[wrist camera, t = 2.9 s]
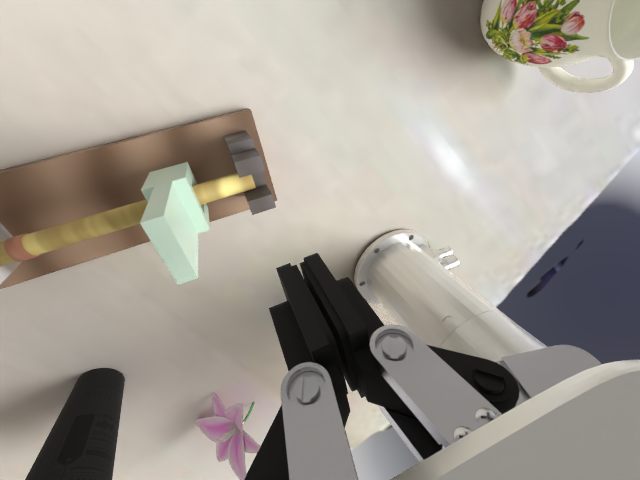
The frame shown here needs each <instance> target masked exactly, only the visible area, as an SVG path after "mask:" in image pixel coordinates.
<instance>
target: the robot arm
mask: <svg viewBox="0 0 640 480" xmlns="http://www.w3.org/2000/svg"><path fill="white" fill-rule="evenodd" d="M450 255H452V250H451V248H450V247H448V246H447V247H445V248H442V249H440V250H439V251H433V250H431V249H430V246H429V244H428V242H427V240H426V239H425V238H424V237H423V236H421V235H420V234H419V233H417V232H415V231H412V230H404V229H401V230H396V231H392V232H389V233H387V234H385V235H383V236H381V237H380V238H378V239H377V240H376V241H374V242H373V243H372V244H371V245H370V246H369V247H368V248H367V249H366V250H365V251H364V253H363V254H362V256H361V257H360V259H359V261H358V263H357V266H356V269H355V275H354V281H355V285H354V284H353V283H352V281H351V280H350V279H349V278H348V277H346V278H343V279H341V280H338V281H336V280H335V278H334V277H333V275H332V274H331V272H330V271H329V269H328V268H327V266H326V265H325V263H324V262H323V261H322V259H321V258H320V256H319V255H318V253H316V254H313V255H310V256H308V257H305V258H304V262H302V263H300V266H301V269H302V273H303V277H304V278H303V277H302V275H301V273H300V271H299V269H298V267H297V265H294V266H292V267H291V265H290V263H289V264H286V265H284V266H281V267H278V268H276V269H277V272H278V275H279V278H280V281H281V284H282V287H283V290H284V293H285V295H286V298H287V301H286V302H284V303H281V304H279V305H276V306H274V307H271V308H269V309H270V313H271V316H272V319H273V322H274V326H275V329H276V332H277V335H278V338H279V342H280V345H281V348H282V351H283V354H284V358H285V361H286V364H287V367H288V370H289V372H288V373H287V375H286V376H285V377H284V379H283V382H282V385H281V401H282V405H281V407H280V409H279V411H278V413H277V415H276V417H275V419H274V421H273V423H272V425H271V427H270V429H269V431H268V433H267V435H266V437H265V439H264V441H263V443H262V445H261V447H260V449H259V451H258V453H257V455H256V457H255V459H254V461H253V463H252V465H251V467H250V469H249V471H248V473H247V475H246V477H245V479H244V480H358V477H357V473H356V469H355V465H354V461H353V458H352V454H351V450H350V446H349V443H348V439H347V435H346V431H345V425H346V422H347V419H348V416H349V413H350V407H349V403H348V399H347V395H346V394H348V391H347V387H346V382H345V379H346V381H347V383H348V385H349V387H350V389H351V390H352V392H353V391H355V390H358V392H359V394H360V396H361V398H363V397H364V396H365V397H366V399H367V401H368V402H371V403H374V404H377V405H378V406H379V408H380V410H381V411H382V413H383V414H384V415H385V417H386V418H387V419H388V421H389V422H390V423H391V425H392V426H393V428H394V429H395V430H396V432H397V433H398V434H399V436H400V437H401V438H402V440H403V441H404V442H405V444H406V445H407V446H408V448H409V449H410V450H411V452H412V453H413V454H414V456H415V457H416V459H417V460H418V461H419V463H418V464H416V465H415V466H413V467H411V468H410V469H408V470H406V471H404V472H403V473H401V474H399V475H397V476H396V477H394V478H392V479H391V480H640V360H626V361H616V362H611V363H606V364H601V363H600V362H599V361H598V360H597V359H595V358H594V357H593V356H592V355H591V354H589V353H588V352H586V351H584V350H582V349H580V348H578V347H574V346H570V345H556V346H552V347H547V346H545V345H544V344H543V343H541V342H540V341H539V340H537V339H536V338H534V337H533V336H532V335H531V334H529V333H528V332H527V331H525V330H524V329H522V328H521V327H520V326H519V325H517V324H516V323H515V322H513V321H512V320H511V319H509V318H508V317H507V316H506V315H504V314H503V313H502V312H501V311H499V310H498V309H497V308H496V307H494V306H493V305H492V304H491V303H489V302H488V301H487V300H485V299H484V298H483V297H482V296H480V295H479V294H478V293H477V292H475V291H474V290H473V289H471V288H470V287H469V286H468V285H466V284H465V283H464V282H463V281H461V280H460V279H459V278H457V277H456V276H455V275H454V274H452V273H451V272H450V271H449V270H451V269H454V268H456V267H458V266H459V261H458V259H457V258H456V257H455V256H453V255H452V256H450ZM447 256H449V257H447ZM445 257H447V258H445ZM441 258H444V259H442V260H441V261H440V259H441ZM355 286H356V287H355ZM365 299H366V300H368V301H370V302H373V303H381V304H382V305H383V307H384V308H385V309H386V310H387V312H388V313H389V314H390V315H391V317H392V318H393V319H394V320H395V322H396V323H397V324H398V325H385V326H384V324H383V323H382V322H381V320H380V319H379V317H378V316H377V315H376V313H375V312H374V311H373V309H372V308H371V307H370V305H369V304H368V303H367V301H366V300H365ZM344 377H345V378H344Z"/></svg>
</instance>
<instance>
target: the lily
mask: <svg viewBox="0 0 640 480" xmlns="http://www.w3.org/2000/svg"><path fill="white" fill-rule="evenodd" d="M212 400H213V408H214V413H215V415H216V416H213V417H206V418H200V419H197V421H196V423H197V425H198V427H199V428H200V429H201V431H202V432H203V433H204V434H205V435H206V436H207V437H208V438H209V439H210V440H212V441H214V442H217V445H216V453H217V459H218V461H219V462H221V461H224V460H226V459H227V458H228V459H229V463H230V465H231V467H232V469H233V471H234V472H235V474H236V475H237V477H238V478H239V479H240V480H244V479H245V477H246V475H247V474H246V467H245V453H244V451H245V452H247V453H258V451H259V449H260V447H261V446H260V445H258V444H257V443H256V442H255V441H254V440H253V439H252V438H251V437H250V436H249V435H248V434H247V433H246V432H245V431H244V430H243V424H244V422H245V421H246V419H247V418H248V416H249V414H250V412H251V410H252V408H253V405H254V402H253V403H252V406H251V408H250V410H249V412H248V414H247V416H246V418H245V419H244V420H243V406H242V404H241V403H238V404H235V405H234V406H232V407H230V408H229V409H227V410H226V409H225V408H224V406H223V405H222V403H221V402H220V401H219V399H218V398H217V396H216V395H215V393H214V392H213V394H212Z"/></svg>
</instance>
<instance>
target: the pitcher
mask: <svg viewBox="0 0 640 480" xmlns="http://www.w3.org/2000/svg"><path fill="white" fill-rule="evenodd" d="M480 24H481V31H482V34H483V37H484V38H485V40H486V41H487V43H488V44H489V46H490V47H491V48H492V49H493V50H494V51H495V52H496V53H497V54H499V55H500V56H502V57H504V58H506V59H508V60H510V61H513V62H516V63H519V64H523V65H527V66H534V67H538V69H539V70H540V72H541V73H542V74H543V75H544V76H545V77H546V78H547V79H548V80H549V81H550V82H552V83H553V84H555V85H556V86H558V87H560V88H562V89H565V90H569V91H573V92H582V93H592V92H601V91H605V90H609V89H612V88H614V87H616V86H618V85H619V84H621V83H622V82H623V81H625V80H626V78H627V77H628V76H629V75H630V74H631V72H632V70H633V63H634V62H633V60H636V59H639V58H640V0H484V1H483V4H482V9H481V17H480ZM598 56H599V57H606V58H608V59H609V61H610V62H611V64H612V67H613V72H612V74H611V75H609V76H607V77H604V78H599V79H585V78H579V77H575V76H572V75H570V74H568V73H567V72H565V71H564V70H563V69H562V68H560V66H566V65H572V64H576V63H580V62H583V61H586V60H589V59H592V58H595V57H598Z"/></svg>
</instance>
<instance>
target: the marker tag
mask: <svg viewBox="0 0 640 480" xmlns="http://www.w3.org/2000/svg"><path fill="white" fill-rule="evenodd" d="M194 185H197V182H196V180H195V178H194V175H193V173H192V171H191V169H190V166H189V164H188V162H185V163H181V164H178V165H174V166H170V167H167V168H163V169H160V170H156V171H152V172H150V173H149V175H148V177H147V179H146V181H145V183H144V185H143V187H142V189H141V191H142V193H143V195H144V197H145V198H146V200H147V202H148V204H147V206H146V209H145V211H144V214H143V216H142V219H141V221H140V224H141V226H142V227H143V229H144V231H145V232H146V234H147V236H148V237H149V239H150V240H151V242H152V244H153V245H154V247H155V249H156V250H157V252H158V253H159V255H160V257H161V258H162V260H163V262H164V263H165V265H166V266H167V268H168V270H169V271H170V273H171V275H172V276H173V278H174V280H175V281H176V283H177V284H178V285H180V284H183V283H186V282H189V281H192V280H194V279H197V278H198V234H199V233H202V232H205V231H208V230H210V225H209V211H208V207H207V204H206V203H205V204H202V205H200V203H199V201H198V198H197V196H196V194H195V192H194V190H193V188H192V186H194Z"/></svg>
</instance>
